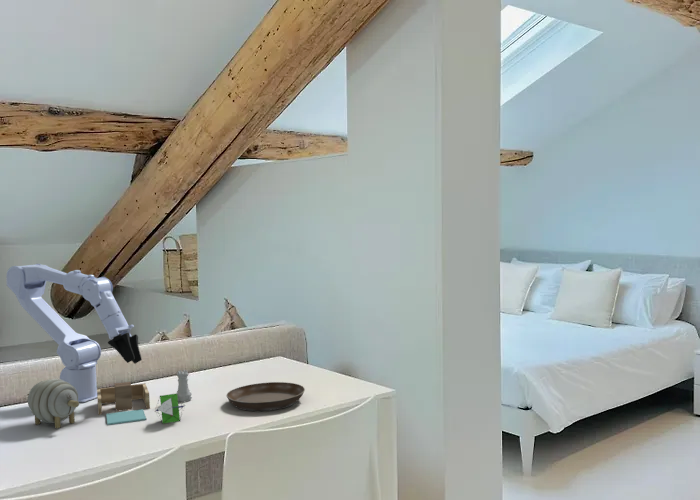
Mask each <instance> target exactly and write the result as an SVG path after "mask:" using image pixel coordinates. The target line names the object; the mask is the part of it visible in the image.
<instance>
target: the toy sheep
mask: <svg viewBox="0 0 700 500" xmlns="http://www.w3.org/2000/svg"><path fill="white" fill-rule="evenodd" d="M26 395H27V396H28V397H27V405H28V408H29V410H30V411H31V413H32V415H33V416H34V423H35V425H37V426H38V425H40V424H41V423H47V424H54V428H55V429H60V428H61V422H63V421H65V420H66V419H67V418H68V423H70V424H74V423H75V422H76V421H75V420H76V419H75V410H76V409H77V408H78V407H79V406H80V402H78V393H77V390H76V389H75V388H74V387H73V386H72V385H71V384H69V383H68V382H66V381H63V380H61V379H60V378H52V379H51V378H49V379H46V380H42V381H39V382H37V383H35V384H34V385H33V386H32V388H31V389H30V391H29V393H28V394H26Z"/></svg>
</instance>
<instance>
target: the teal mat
mask: <svg viewBox="0 0 700 500" xmlns="http://www.w3.org/2000/svg"><path fill="white" fill-rule="evenodd" d="M105 414H106V415H105V416H106V423H107V426H110V425H118V424H126V423H132V422H141V421H147V417H146V414H145V411H144V408H142V409H131V410H123V411H115V412H109V413H105Z"/></svg>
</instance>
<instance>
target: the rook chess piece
mask: <svg viewBox="0 0 700 500" xmlns="http://www.w3.org/2000/svg"><path fill="white" fill-rule="evenodd" d="M189 375H190V374H189V373H188V370H185V369H183V370H181V369H180V370H178V371H177V374H176V376H177V378H178V379H177V382H178V384H177V385H178V386H177V391H176V393H175V394H178V395H179V396H178V395H177V397H179V398H178V403H180V402H181V403H185V402H184V401H187V402H190V401H192V399H193V397H192V391H191V390H190V388H189V383H188V381H189V378H188V377H189ZM180 398H181V399H180ZM179 399H180V400H179ZM189 400H190V401H189Z"/></svg>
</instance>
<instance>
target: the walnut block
mask: <svg viewBox="0 0 700 500" xmlns="http://www.w3.org/2000/svg"><path fill="white" fill-rule="evenodd" d="M131 385H132V384H131V381H124V382H117V383H114V386H113V387H115V402H114V403H115V404H114V405H115V412H120V411H119V410H122V411H129V410H128V409H130V410H133V400H132V391H131Z"/></svg>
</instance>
